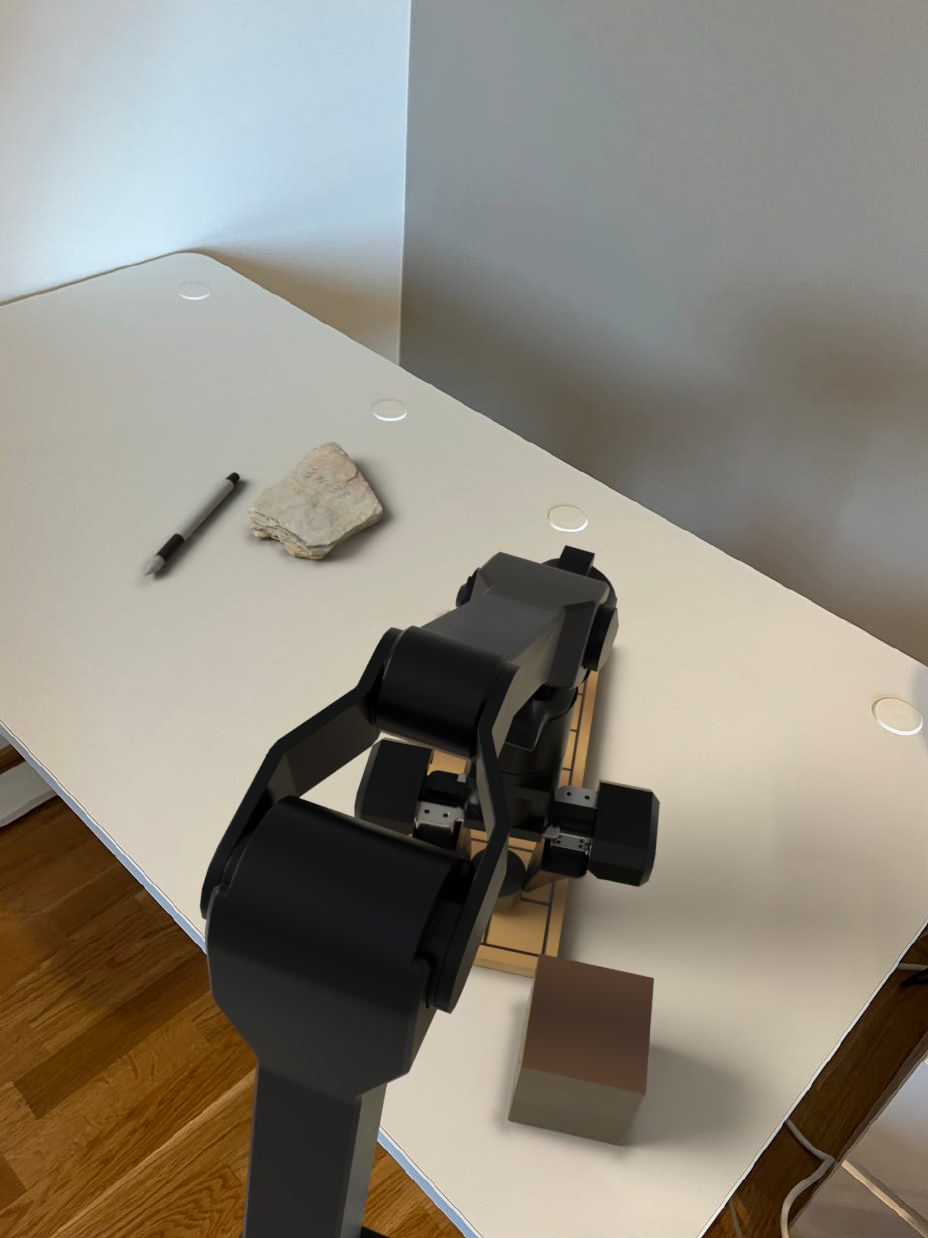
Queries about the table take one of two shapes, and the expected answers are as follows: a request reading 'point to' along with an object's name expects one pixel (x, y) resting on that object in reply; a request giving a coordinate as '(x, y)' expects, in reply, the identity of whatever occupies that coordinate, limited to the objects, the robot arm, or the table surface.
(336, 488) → the stone
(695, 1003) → the table surface
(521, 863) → the game stone
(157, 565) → the pen
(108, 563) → the table surface
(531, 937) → the board
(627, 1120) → the stone stand
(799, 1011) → the table surface
